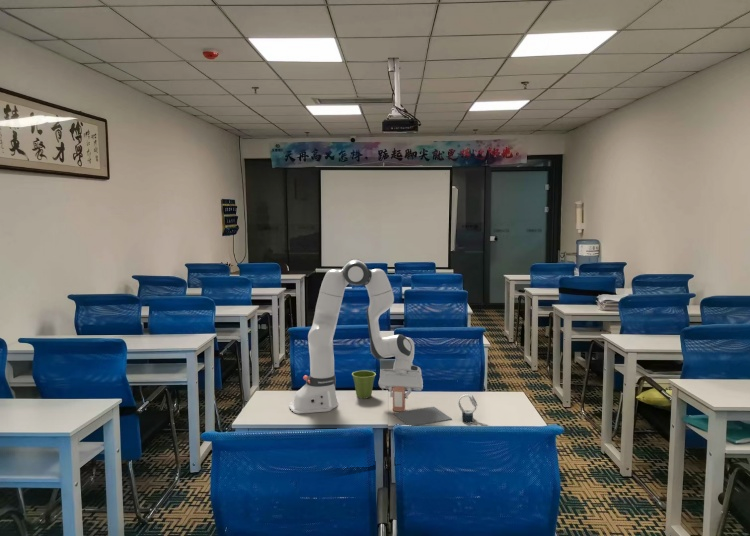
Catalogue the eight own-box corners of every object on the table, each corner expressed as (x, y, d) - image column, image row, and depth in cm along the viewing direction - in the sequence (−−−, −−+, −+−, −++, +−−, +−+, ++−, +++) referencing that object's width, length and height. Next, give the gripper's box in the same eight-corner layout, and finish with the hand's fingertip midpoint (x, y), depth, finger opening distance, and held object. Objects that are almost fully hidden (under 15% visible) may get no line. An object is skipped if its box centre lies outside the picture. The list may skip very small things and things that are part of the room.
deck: (394, 408, 228) (394, 386, 227) (405, 408, 227) (405, 387, 226) (392, 410, 225) (392, 388, 224) (403, 411, 224) (403, 389, 223)
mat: (409, 426, 207) (409, 425, 207) (393, 413, 222) (393, 412, 222) (451, 419, 214) (451, 418, 214) (433, 407, 229) (433, 406, 229)
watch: (477, 422, 210) (477, 397, 209) (458, 422, 211) (458, 396, 210) (476, 417, 216) (477, 392, 215) (458, 417, 217) (458, 392, 216)
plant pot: (378, 399, 241) (378, 376, 240) (354, 401, 238) (354, 378, 237) (373, 391, 252) (373, 369, 251) (350, 393, 250) (349, 371, 249)
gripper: (379, 365, 234) (375, 392, 225) (423, 367, 229) (420, 395, 220) (381, 372, 238) (377, 398, 229) (424, 374, 234) (421, 402, 225)
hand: (398, 397), depth 225 cm, fingers closed on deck, 5 cm apart
